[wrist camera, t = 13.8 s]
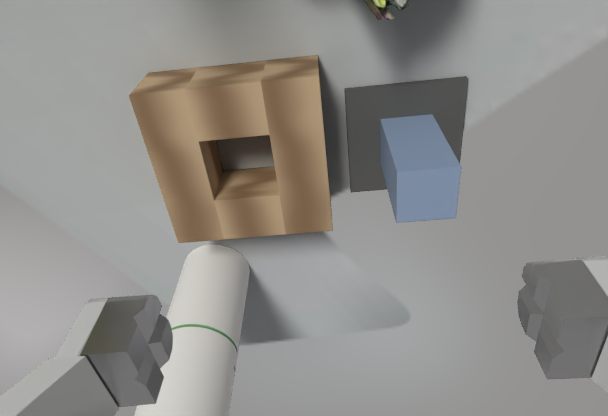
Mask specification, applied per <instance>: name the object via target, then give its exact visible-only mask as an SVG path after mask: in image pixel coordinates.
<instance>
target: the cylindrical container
mask: <svg viewBox="0 0 608 416" xmlns="http://www.w3.org/2000/svg"><path fill="white" fill-rule="evenodd" d="M249 275H250V268H249V265H248V263H247V261H246V259H245V258H244V257H243V256H242V255H241V254H240V253H238V252H237V251H235V250H234V249H232V248H229V247H226V246H222V245H205V246H201V247H198V248H196V249H194V250H193V251H192V252H191V253H189V255H188V256H187V258H186V260H185V262H184V265H183V269H182V272H181V275H180V278H179V281H178V284H177V287H176V290H175V293H174V296H173V299H172V302H171V305H170V308H169V311H168V314H167V317H166V318H167V319H168V320H169V323H170V325H171V328H172V334H173V346H172V352H171V355H170V359H169V361H168V362H167V363H165V364H164V365H163V366H162V367H161V368H160V370H161V372H162V374H163V376H164V379H163V382H162V385H161V389H160V392H159V395H158V398H157V402H156V404H147V405H138V406H137V409H136V412H135V415H134V416H228V415H229V409H230V402H231V396H232V389H233V382H234V376H235V369H236V362H237V356H238V349H239V342H240V336H241V329H242V322H243V316H244V309H245V302H246V296H247V289H248V282H249Z"/></svg>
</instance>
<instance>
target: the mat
mask: <svg viewBox="0 0 608 416" xmlns="http://www.w3.org/2000/svg"><path fill="white" fill-rule="evenodd" d="M467 86H468V78H467V77H466V76H465V77H455V78H445V79H435V80H425V81H415V82H405V83H395V84H385V85H375V86H365V87H355V88H345V104H346V121H347V138H348V155H349V172H350V189H351V192H360V191H371V190H383V189H387V185H386V182H385V178H384V174H383V170H382V167H381V133H380V119H386V118H397V117H408V116H419V115H430V114H432V115H433V116H434V118H435V120H436V122H437V124H438V125H439V127H440V129H441V131H442V133H443V134H444V136H445V138H446V140H447V142H448V144H449V145H450V147H451V149H452V151H453V153H454V154H455V156H456V158H457V160H458V162H459V164H460V157H461V146H462V137H463V127H464V116H465V106H466V96H467Z"/></svg>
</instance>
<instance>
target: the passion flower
mask: <svg viewBox="0 0 608 416" xmlns="http://www.w3.org/2000/svg"><path fill="white" fill-rule="evenodd" d="M365 1H366V3H367V5H368V7H369V9H370V10H371V12H372V13H373V14H374V15H375V16H376V18H377V19H378V20H381V19H383V18H385V19H388V20H389V19H395V17H394V16H393V15H392V13H391V12H390V11H389V10H388V8H387V6H388V5H394V6H396V7H397V8H398V9H399V10H402V9H404V8H405V7H407V6H408V5H409V4H410V2H411V0H373V1H374V2H373V1H372V0H365Z"/></svg>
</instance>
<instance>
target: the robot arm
mask: <svg viewBox="0 0 608 416" xmlns="http://www.w3.org/2000/svg"><path fill="white" fill-rule="evenodd" d="M522 278H523V279H524V281H525V283H526V285H525V286H524V287H523V288H522V289H521V290H520V291H519V295H518V302H517V303H518V313H519V318H520V321H521V324H522V327H523V329H524V331H525V333H526V335H528V336H529V337H531V338H532V339H534V340H535V341H536V346H535V350H534V352H535V354H536V357H537V358H538V361H539V363H540V365H541V367H542V369H543V371H544V373H545V375H546V377H547V379H567V378H591V380H592V381H593V382H595V383H596V384H597V385H598V386H599V387H600V388H602V389H603V390H604V391H605V392H607V393H608V258H606V257H604V256H594V257H593V256H592V257H582V258H577V259H562V260H551V261H541V262H531V263H527V264H526V265H525V266H524V269H523V274H522ZM161 308H162V305H161V303H160V301H159V299H158V297H157V296H154V295H145V296H126V297H112V298H100V299H90V300H89V301H88V302H86V303H85V304H84V306H83V308H82V310H81V311H80V313H79V315H78V317H77V319H76V321H75V323H74V324H73V326H72V328H71V330H70V332H69V333H68V335H67V337H66V339H65V341H64V343H63V344H62V346H61V348H60V350H59V352H58V353H57V355H56V357H55V358H50V359H47V360H46V361H45V362H44V363H42V364H41V365H40V366H39V367H37V368H36V369H35V370H33V371H32V372H31V373H30V374H28V375H27V376H26V377H25V378H24V379H22V380H21V381H20V382H18V383H17V384H16V385H14V386H13V387H12V388H11V389H10V390H8V391H7V392H6V393H4V394H3V395H2V396H0V416H114V415H115V414H116V412H117V411H118V410H119V408H118V407H126V406H136V405H147V404H156V402H157V398H158V395H159V392H160V389H161V385H162V382H163V379H164V376H163V374H162V372H161V370H160V368H161V367H162V366H163V365H164V364H165V363H167V362H168V361H169V359H170V355H171V352H172V346H173V334H172V328H171V325H170V323H169V320H168V319H167V318H165V317H164V316H162V315H161V314H160V311H161Z"/></svg>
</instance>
